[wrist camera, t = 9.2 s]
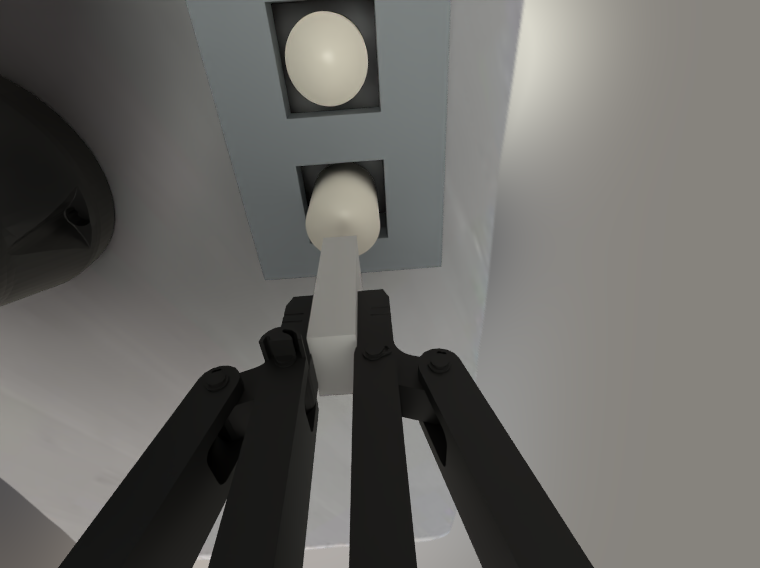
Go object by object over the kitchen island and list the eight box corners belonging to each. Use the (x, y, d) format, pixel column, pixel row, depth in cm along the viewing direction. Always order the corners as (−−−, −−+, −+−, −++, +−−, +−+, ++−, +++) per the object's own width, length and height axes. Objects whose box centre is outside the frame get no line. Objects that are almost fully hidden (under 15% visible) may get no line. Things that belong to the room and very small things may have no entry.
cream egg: (368, 89, 24) (371, 103, 20) (304, 93, 24) (293, 109, 20) (363, 10, 21) (364, 7, 17) (291, 15, 21) (277, 14, 17)
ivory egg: (378, 219, 26) (382, 255, 22) (319, 223, 26) (312, 260, 22) (374, 159, 23) (377, 187, 19) (309, 164, 23) (299, 193, 19)
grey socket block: (430, 232, 30) (441, 266, 26) (277, 244, 30) (264, 280, 26) (437, -310, 16) (465, -426, 12) (147, -289, 16) (72, -397, 12)
